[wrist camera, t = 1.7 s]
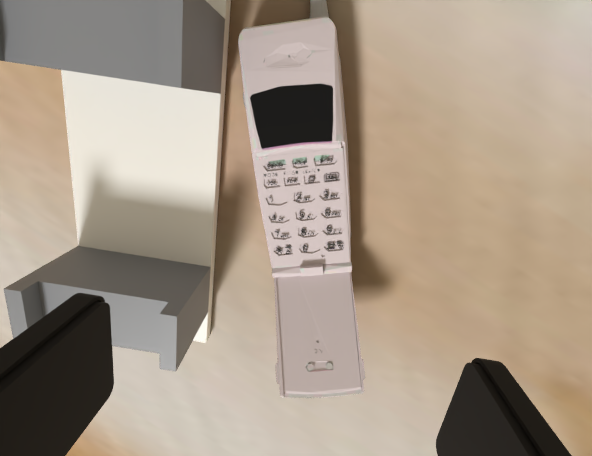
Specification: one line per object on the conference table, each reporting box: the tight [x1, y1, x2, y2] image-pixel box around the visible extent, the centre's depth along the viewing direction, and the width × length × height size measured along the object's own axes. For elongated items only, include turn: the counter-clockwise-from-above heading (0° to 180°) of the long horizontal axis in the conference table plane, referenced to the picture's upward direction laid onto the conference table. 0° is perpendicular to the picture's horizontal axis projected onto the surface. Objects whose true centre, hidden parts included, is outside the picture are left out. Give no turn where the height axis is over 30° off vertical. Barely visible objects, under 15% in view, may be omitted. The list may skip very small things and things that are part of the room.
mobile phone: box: [238, 0, 365, 398], centre depth 21 cm, size 6×6×25 cm
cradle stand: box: [0, 0, 231, 372], centre depth 20 cm, size 26×10×7 cm, turn 172°
